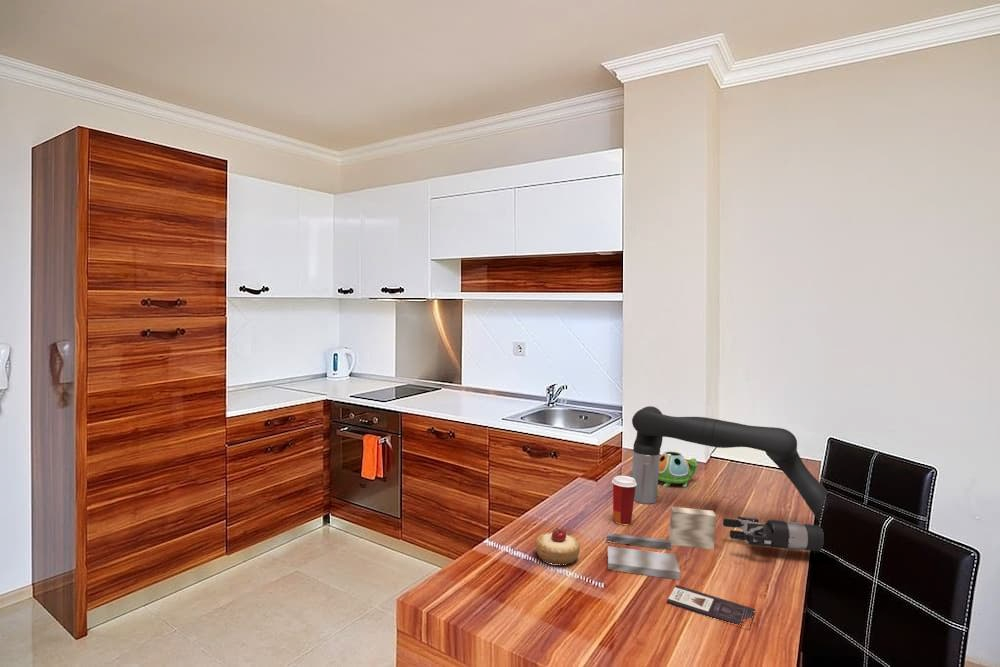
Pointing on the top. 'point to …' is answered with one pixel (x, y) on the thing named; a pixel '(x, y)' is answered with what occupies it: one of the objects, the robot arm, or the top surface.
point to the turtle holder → (675, 468)
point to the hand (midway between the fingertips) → (726, 528)
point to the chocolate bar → (709, 605)
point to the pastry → (557, 547)
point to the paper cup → (623, 498)
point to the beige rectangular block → (692, 527)
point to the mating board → (642, 557)
